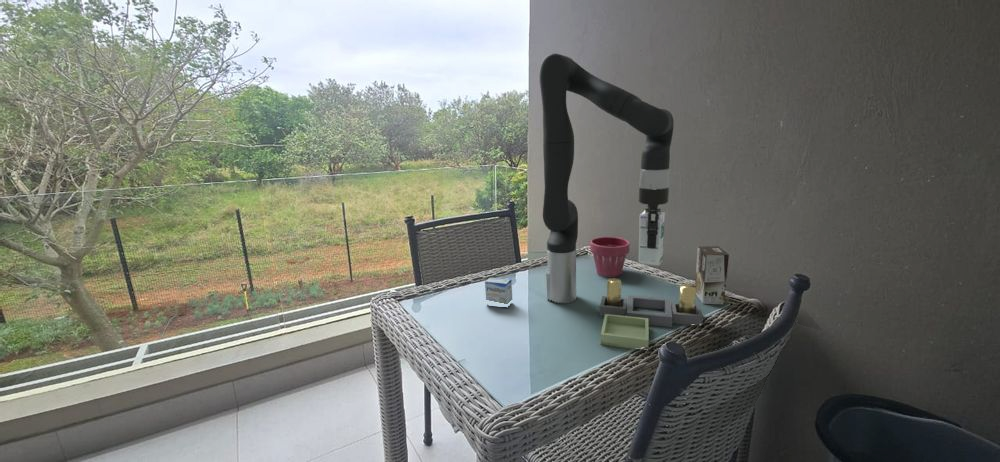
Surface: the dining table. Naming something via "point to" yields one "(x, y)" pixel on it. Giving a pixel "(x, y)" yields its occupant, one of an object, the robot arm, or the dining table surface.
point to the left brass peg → (614, 292)
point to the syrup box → (645, 253)
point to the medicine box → (498, 290)
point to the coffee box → (711, 274)
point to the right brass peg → (687, 298)
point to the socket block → (653, 318)
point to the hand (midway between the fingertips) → (651, 244)
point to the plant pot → (609, 255)
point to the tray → (625, 331)
